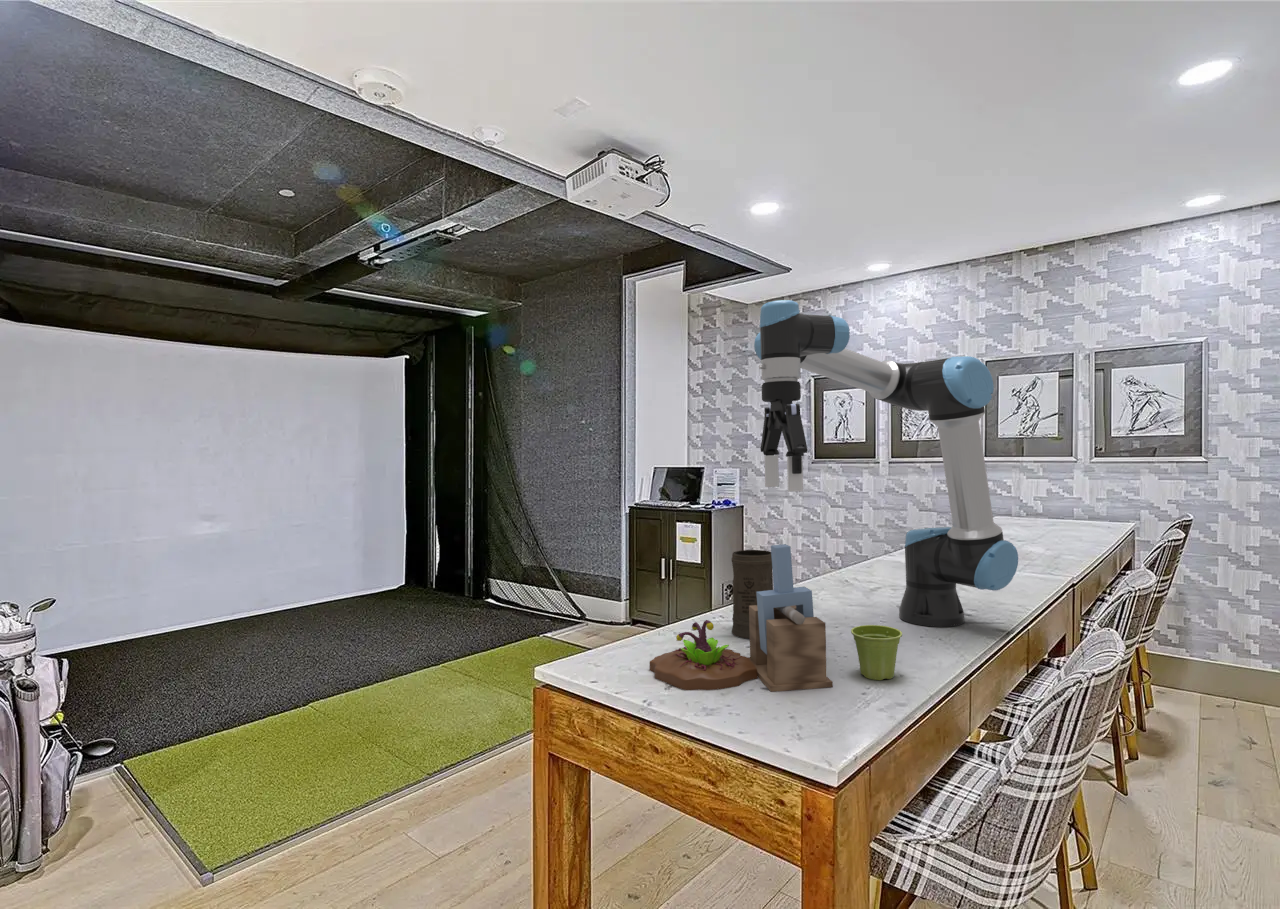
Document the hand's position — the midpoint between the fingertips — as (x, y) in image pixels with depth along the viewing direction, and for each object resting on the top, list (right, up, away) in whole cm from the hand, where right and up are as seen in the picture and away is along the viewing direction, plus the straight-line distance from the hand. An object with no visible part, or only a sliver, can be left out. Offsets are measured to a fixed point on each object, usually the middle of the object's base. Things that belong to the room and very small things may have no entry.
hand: (783, 489), depth 135 cm
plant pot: (+18, -37, -1) cm, 41 cm away
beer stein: (0, -36, +32) cm, 48 cm away
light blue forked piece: (+1, -32, 0) cm, 32 cm away
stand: (+1, -37, +1) cm, 37 cm away
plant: (-15, -38, +3) cm, 41 cm away
